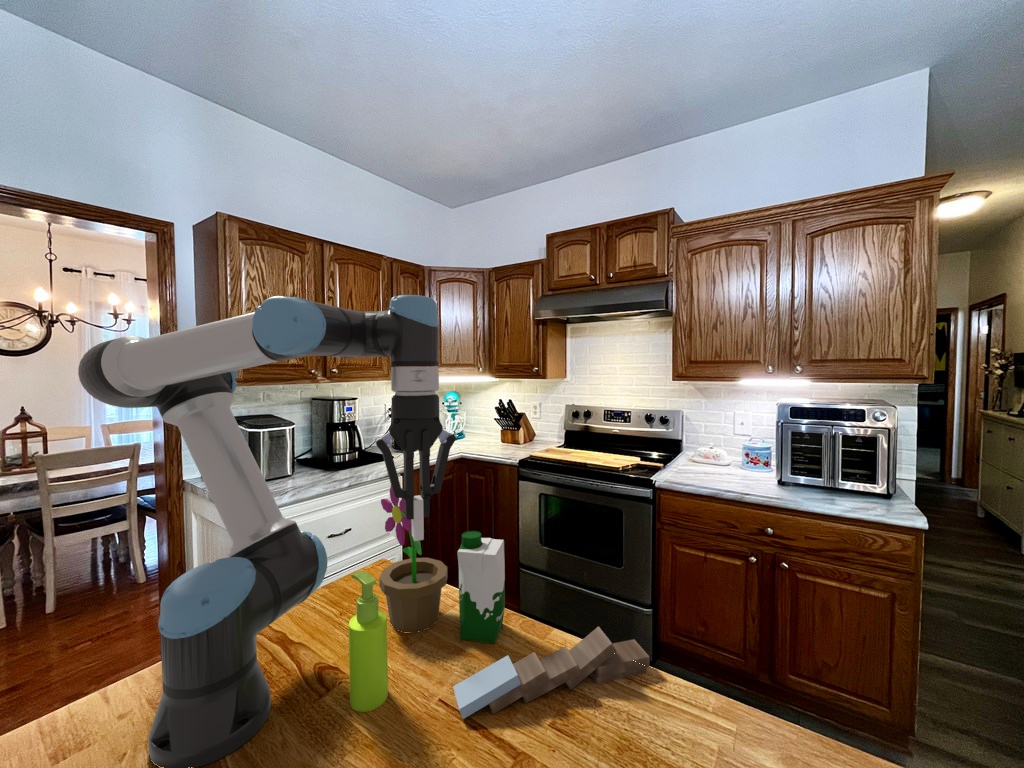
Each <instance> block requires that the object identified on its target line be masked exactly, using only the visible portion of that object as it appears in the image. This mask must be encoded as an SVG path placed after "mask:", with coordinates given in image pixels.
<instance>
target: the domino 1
mask: <svg viewBox="0 0 1024 768" xmlns="http://www.w3.org/2000/svg"><path fill="white" fill-rule="evenodd" d="M513 664H514V663H513V661H512V660H511V658H510V656H509V654H507V655H506V656H504V657H502V658H500V659H499V660H497V661H495V662H493V663H491V664H490V665H487V666H486V667H485V668H482V669H481V670H479V671H478V672H476V673H474V674H472V675H471V676H469V677H467V678H465V679H463V680H462V681H460V682H459V683H457V684H455V685H453V686H452V688H453V692H454V696H455V700H456V703H457V707H458V710H459V713H460V715H461V718H462V720H464V719H466V718H467V717H469V716H471V715H473V714H475V713H476V712H478V711H479V710H481V709H483V708H484V707H487V706H488V705H489V703H491V702H493V701H494V700H496V699H498V698H499V697H501V696H503V695H504V694H506V693H508V692H509V691H511V690H513V689H514V688H516V687H518V686H519V685H521V683H520V680H519V677H518V674H517V672H516V670H515V668H514V666H513Z"/></svg>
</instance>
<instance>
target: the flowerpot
mask: <svg viewBox="0 0 1024 768" xmlns="http://www.w3.org/2000/svg"><path fill="white" fill-rule="evenodd" d="M389 496H390V500H389V499H388V498H381V499H380V504H381V507H382V509H383V510H384V511H385V512H386V513H387V514H388V513H389V514H390V513H391V515H392V516H390V517H388V518H387V519H386V521H384V523H385V524H384V530H385V532H386V533H389V532H392V531H393V530H394V529H395V535H396V541H397V542H398V543H399V545H400V546H405V541H406V534H405V530H406V531H407V532H408V534H409V539H410V546H411V547H410V546H408V547H404V548H402V552H403V553H404V554H406V555H407V556H408V557H409V558H407V559H403V560H399V561H395V562H394V563H392V564H390V565H388V566H387V567H384V568H383V569H382V571H381V573H380V575H379V577H378V580H379V589H380V590H381V591H382V593H383V594H384V596H385V598H386V604H387V610H388V618H389V623H391V624H392V625H391V624H390V625H391V627H392V626H393V627H392V628H394V629H396V630H395V631H397V630H399V631H398V632H400V631H402V632H418V631H420V632H423V631H425V630H424V629H426V630H428V629H427V628H429V629H430V628H431V627H433V626H434V625H435V624H436V623H437V622H438V620H439V614H440V606H441V597H442V596H441V595H442V589H443V587H445V586H447V581H448V566H447V565H445V563H444V562H443V561H441V560H440V559H439V560H438V559H434V558H430V557H417V554H418V555H419V556H422V555H423V553H422V546H421V540H419V541H414V539H413V537H412V521H411V520H407V518H406V516H405V499H403V498H396V497H395V495H394V493H393V490H392V487H391V486H390V487H389ZM437 619H438V620H437ZM436 621H437V622H436ZM435 622H436V623H435ZM434 623H435V624H434ZM433 624H434V625H433ZM432 625H433V626H432ZM394 629H393V630H394ZM422 630H423V631H422ZM402 632H401V633H402ZM418 633H419V632H418Z"/></svg>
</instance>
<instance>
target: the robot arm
mask: <svg viewBox="0 0 1024 768" xmlns="http://www.w3.org/2000/svg"><path fill="white" fill-rule="evenodd" d="M438 313H439V312H438V305H437V302H436V300H435V299H434V298H432V297H429V296H425V295H418V294H417V295H416V294H402V295H401V294H400V295H395V296H393V297H391V299H389V306H388V309H387V310H378V311H377V310H376V311H372V310H370V311H368V310H367V311H359V310H353V309H349V308H344V307H339V306H336V305H330V304H325V303H321V302H316V301H311V300H307V299H306V298H301V297H298V296H283V295H282V296H281V295H277V296H276V295H275V296H271V297H269V298H266V299H264V300H263V302H262V303H261V304H260V305H259V306H257V307H256V309H255V310H254V311H253V312H250V313H249V312H248V313H246V314H241V315H236V316H233V317H229V318H225V319H220V320H216V321H211V322H208V323H204V324H200V325H197V326H192V327H188V328H184V329H180V330H176V331H172V332H168V333H163V334H160V335H155V336H150V337H147V338H145V337H141V336H136V335H128V336H127V335H126V336H121V337H118V338H114V339H110V340H105V341H103V342H100V343H98V344H96V345H94V346H93V347H91V348H90V349H88V350H87V351H86V352H85V353H84V355H83V356H82V357H81V359H80V361H79V364H78V368H77V369H78V371H77V372H78V373H77V374H78V379H79V382H80V384H81V387H83V389H84V390H85V391H86V393H88V394H89V395H90V396H91V397H93V398H94V399H95V400H98V401H99V402H101V403H102V404H106V405H108V406H113V407H118V408H126V409H127V408H129V409H138V408H152V407H153V408H154V407H155V408H156V409H157V410H158V412H159V414H160V416H161V419H162V421H163V422H164V423H165V424H170V425H173V426H176V427H177V428H178V431H179V432H180V434H181V436H182V438H183V440H184V443H185V445H186V447H187V449H188V451H189V453H190V456H191V457H192V459H193V462H194V463H195V466H196V468H197V470H198V472H199V475H200V477H201V478H202V482H203V483H204V485H205V487H206V489H207V491H208V494H209V495H210V498H211V500H212V502H213V504H214V506H215V508H216V510H217V512H218V515H219V517H220V519H221V521H222V523H223V525H224V527H225V530H226V531H227V534H228V536H229V537H230V541H231V542H232V546H231V548H230V550H229V553H228V554H227V557H223V558H219V559H215V560H214V561H213V562H205V563H202V564H201V565H200V564H199V565H198V566H196V567H193V568H192V569H190V570H187V571H186V572H184V573H183V574H181V575H180V576H179V577H177V578H176V579H174V580H173V581H172V582H171V583H170V585H169V586H168V587H167V588H166V589H165V590H164V592H163V594H162V596H161V600H160V605H159V607H160V610H159V611H160V613H159V617H158V618H159V619H158V625H157V626H158V630H159V633H160V650H161V651H160V653H161V655H160V656H161V678H162V694H161V697H160V700H159V703H158V707H157V709H156V712H155V715H154V718H153V721H152V724H151V727H150V730H149V734H148V741H147V742H148V743H147V744H148V756H149V755H150V758H151V760H152V761H153V762H154V763H155V764H157V765H158V766H160V767H164V768H188V767H190V768H191V767H197V768H200V767H199V766H201V767H204V766H205V765H206V766H207V765H208V764H212V763H215V762H217V761H218V760H220V759H222V758H224V757H227V756H228V755H230V754H231V753H233V752H235V751H236V750H238V749H239V748H240V747H242V746H243V745H244V744H246V743H248V741H249V740H250V739H252V738H253V737H254V736H255V735H256V734H257V733H258V732H259V730H260V729H262V727H263V726H264V724H265V722H266V721H267V719H268V717H269V715H270V712H271V709H272V697H271V695H272V694H271V688H270V685H269V683H268V682H269V681H268V680H267V678H266V676H265V674H264V672H263V670H262V668H261V666H260V664H259V661H258V656H257V636H258V634H259V633H261V632H262V631H263V630H264V629H266V628H267V627H269V626H270V625H272V624H273V623H274V622H275V621H277V620H278V619H280V618H281V617H282V616H283V615H285V614H286V613H288V612H289V611H290V610H292V609H293V608H294V607H296V606H297V605H300V604H301V603H304V602H305V601H306V600H307V599H308V598H309V596H311V595H312V594H313V593H314V592H315V591H317V589H318V588H319V587H320V586H321V585H322V583H323V581H324V579H325V575H326V573H327V570H328V556H327V550H326V548H325V546H324V544H323V542H322V540H321V539H320V538H319V537H318V536H317V535H315V534H314V535H313V534H312V532H310V531H305V530H304V531H303V530H300V527H299V525H298V524H297V521H296V520H292V519H290V518H289V519H288V518H285V517H284V516H283V514H282V512H281V511H280V508H279V506H278V504H277V502H276V500H275V497H274V496H273V493H272V492H271V489H270V487H269V486H268V483H267V481H266V479H265V477H264V475H263V473H262V471H261V469H260V466H259V465H258V462H257V461H256V459H255V457H254V454H253V452H252V451H251V449H250V447H249V444H248V442H247V440H246V438H245V436H244V434H243V432H242V430H241V428H240V426H239V424H238V422H237V419H236V418H235V415H234V413H233V411H232V409H231V406H232V405H233V403H234V400H235V395H234V393H235V391H236V388H237V385H238V382H237V381H236V379H238V372H237V371H240V370H244V369H250V368H254V367H259V366H263V365H269V364H273V363H276V362H282V361H283V362H284V361H288V360H293V359H299V358H304V357H313V356H315V357H318V356H319V357H321V356H323V357H333V358H340V359H341V358H342V359H355V358H377V357H378V358H379V357H384V358H389V357H390V366H391V367H390V371H391V372H390V373H391V375H390V378H391V379H390V384H391V387H390V388H391V389H390V390H391V392H393V393H394V395H392V397H391V423H390V425H389V427H388V431H387V432H386V433H385V434H384V435H382V436H378V437H376V438H375V439H374V443H375V445H376V447H377V448H378V449H379V451H380V452H381V453H382V458H383V461H384V463H385V468H386V472H387V475H388V478H389V482H390V487H392V490H393V493H394V495H395V497H396V498H399V499H402V498H403V499H405V512H404V514H405V516H406V518H407V520H411V521H412V537H413V539H414V541H423V540H425V538H424V537H425V536H424V535H425V534H424V533H425V529H424V527H425V526H424V523H425V522H424V521H425V520H424V518H429V517H430V514H431V513H430V512H431V506H430V505H431V503H430V500H431V499H432V498H431V497H432V496H433V495H435V494H439V493H440V492H441V491H442V487H443V483H444V478H445V473H446V470H447V466H448V462H449V461H448V460H449V455H450V451H451V448H452V447H453V445H454V443H455V442H456V439H457V436H456V435H455V434H453V433H451V432H448V431H446V430H445V429H443V424H442V423H441V420H440V396H439V395H438V394H437V393H436V392H439V390H440V377H439V376H440V374H439V371H440V370H439V367H440V366H439V364H440V363H439V329H440V325H439V314H438ZM438 438H439V443H440V444H439V448H438V452H437V454H436V455H437V456H436V461H435V466H434V469H433V474H432V478H431V468H430V467H431V464H430V463H431V462H430V461H431V460H430V457H431V448H432V447H433V446H434V444H435V442H436V441H437V440H438ZM392 440H394V441H395V442H396V444H397V446H399V447H400V449H401V450H402V454H403V455H402V456H403V488H402V487H401V483H400V480H399V476H398V472H397V468H396V465H395V461H394V457H393V454H392V451H391V449H390V448H391V447H392V446H393V443H392ZM416 451H417V452H418V455H419V462H418V463H419V493H420V495H419V494H418V495H415V480H414V479H415V476H414V474H415V473H414V472H415V469H414V468H415V467H414V466H415V465H414V461H415V459H414V458H415V452H416ZM150 758H149V759H150Z"/></svg>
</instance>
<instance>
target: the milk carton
mask: <svg viewBox="0 0 1024 768" xmlns="http://www.w3.org/2000/svg"><path fill="white" fill-rule="evenodd" d="M456 554H457V561H458V563H457V564H458V597H459V599H458V602H459V609H458V611H459V635H460V636H459V639H460V640H463V641H471V642H481V643H485V644H496V641H497V639H498V636H499V633H500V631H501V628H502V626H503V623H504V616H505V607H506V606H505V605H506V589H505V588H506V586H505V585H506V583H505V582H506V581H505V580H506V579H505V578H506V577H505V576H506V574H505V573H506V571H505V570H506V569H505V567H506V566H505V540H504V539H497V538H496V539H495V538H491V537H482V533H481V532H480V531H476V530H469V531H465V532H463V533H462V534H461V544H460V547H459V548H458V550H457V553H456Z"/></svg>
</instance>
